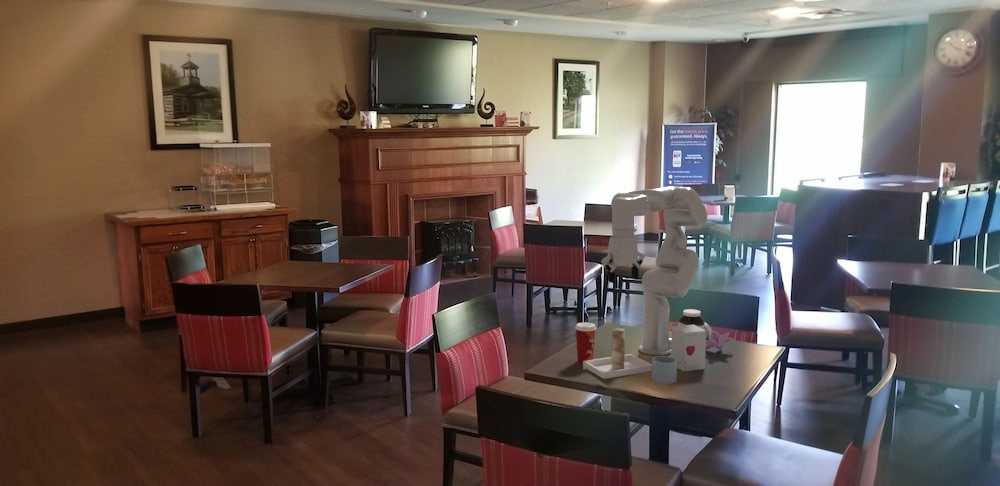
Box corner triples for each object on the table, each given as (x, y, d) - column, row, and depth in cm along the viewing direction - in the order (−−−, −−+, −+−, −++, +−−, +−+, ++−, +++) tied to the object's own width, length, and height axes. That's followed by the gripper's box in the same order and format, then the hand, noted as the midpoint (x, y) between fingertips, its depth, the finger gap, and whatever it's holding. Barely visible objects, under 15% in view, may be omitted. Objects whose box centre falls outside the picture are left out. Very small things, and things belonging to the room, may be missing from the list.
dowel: (619, 365, 260) (620, 327, 257) (626, 369, 256) (627, 330, 253) (609, 367, 258) (609, 329, 256) (615, 371, 254) (616, 332, 252)
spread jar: (674, 338, 296) (675, 310, 294) (690, 333, 303) (691, 305, 302) (700, 344, 287) (701, 316, 285) (716, 339, 295) (717, 311, 293)
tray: (630, 361, 267) (630, 353, 267) (653, 373, 254) (653, 365, 254) (582, 369, 259) (583, 361, 259) (603, 381, 247) (603, 373, 246)
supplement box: (682, 374, 254) (683, 332, 251) (669, 366, 262) (671, 325, 260) (705, 371, 256) (707, 330, 254) (692, 363, 265) (693, 323, 262)
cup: (666, 377, 251) (667, 354, 249) (681, 384, 243) (681, 361, 242) (646, 380, 248) (647, 357, 246) (661, 388, 240) (661, 364, 239)
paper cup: (594, 365, 263) (595, 328, 261) (573, 364, 265) (574, 327, 262) (596, 358, 271) (597, 322, 268) (575, 357, 272) (576, 321, 270)
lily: (739, 355, 277) (732, 331, 280) (736, 352, 266) (729, 326, 270) (707, 362, 281) (701, 338, 284) (703, 359, 270) (697, 334, 273)
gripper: (637, 228, 260) (637, 275, 263) (596, 233, 253) (596, 281, 256) (650, 231, 253) (650, 279, 256) (607, 237, 246) (608, 286, 249)
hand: (623, 280), depth 256 cm, fingers open, 9 cm apart
